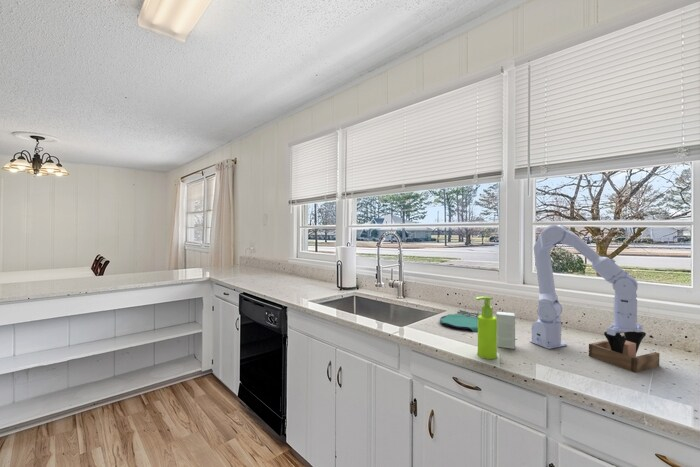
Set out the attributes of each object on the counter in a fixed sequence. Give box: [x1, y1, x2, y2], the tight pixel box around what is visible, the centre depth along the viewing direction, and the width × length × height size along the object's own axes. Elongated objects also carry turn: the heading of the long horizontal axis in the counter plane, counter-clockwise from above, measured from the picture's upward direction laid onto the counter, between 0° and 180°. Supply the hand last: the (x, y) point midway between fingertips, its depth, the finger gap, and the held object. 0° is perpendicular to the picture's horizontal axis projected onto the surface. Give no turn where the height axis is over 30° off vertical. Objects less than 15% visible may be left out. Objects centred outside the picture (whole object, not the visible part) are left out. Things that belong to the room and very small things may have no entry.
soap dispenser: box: [474, 295, 498, 360], centre depth 106 cm, size 6×7×20 cm
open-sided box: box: [588, 339, 660, 373], centre depth 101 cm, size 12×13×4 cm
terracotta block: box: [622, 341, 637, 357], centre depth 101 cm, size 4×4×6 cm
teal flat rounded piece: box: [439, 309, 482, 333], centre depth 144 cm, size 20×30×2 cm, turn 142°
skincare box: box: [495, 311, 516, 350], centre depth 114 cm, size 6×4×12 cm
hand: (624, 354), depth 101 cm, fingers open, 7 cm apart
